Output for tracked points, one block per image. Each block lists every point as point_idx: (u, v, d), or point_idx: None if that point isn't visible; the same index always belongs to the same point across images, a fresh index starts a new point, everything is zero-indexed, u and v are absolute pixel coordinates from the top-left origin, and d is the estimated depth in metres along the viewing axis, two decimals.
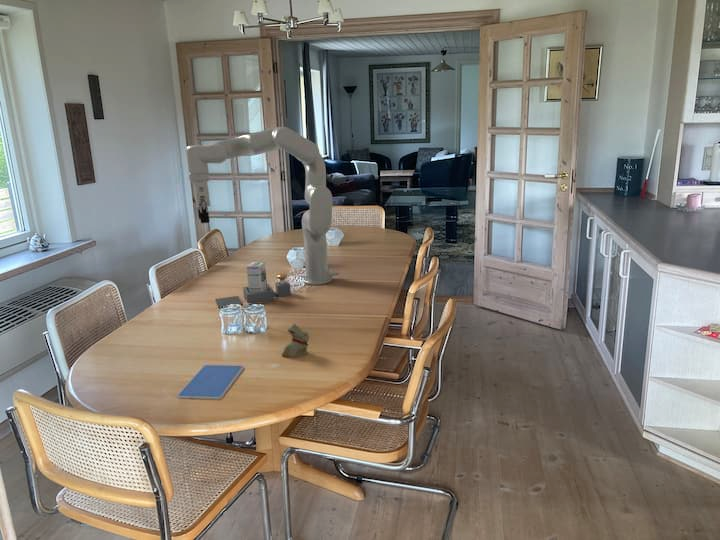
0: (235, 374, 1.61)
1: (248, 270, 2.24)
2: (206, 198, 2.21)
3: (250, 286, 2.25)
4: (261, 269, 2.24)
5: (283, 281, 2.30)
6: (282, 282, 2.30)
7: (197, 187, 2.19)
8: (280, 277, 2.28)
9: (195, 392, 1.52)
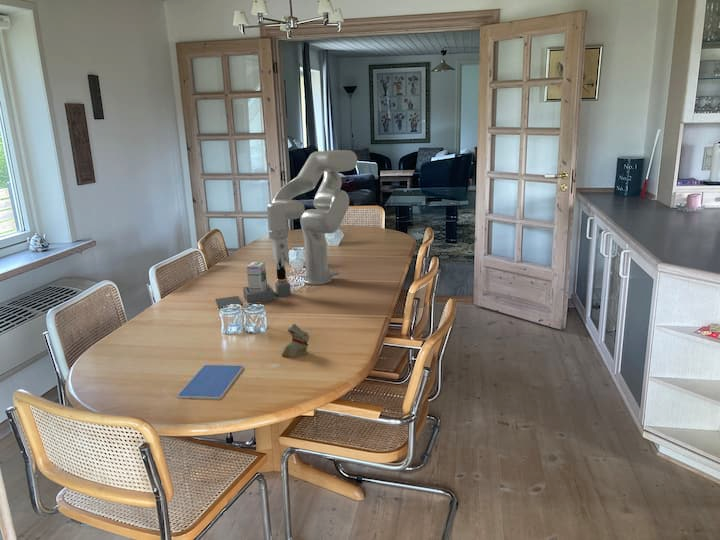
0: (235, 374, 1.61)
1: (248, 270, 2.24)
2: (286, 255, 2.23)
3: (250, 286, 2.25)
4: (261, 269, 2.24)
5: None
6: None
7: (277, 244, 2.22)
8: (280, 280, 2.29)
9: (195, 392, 1.52)
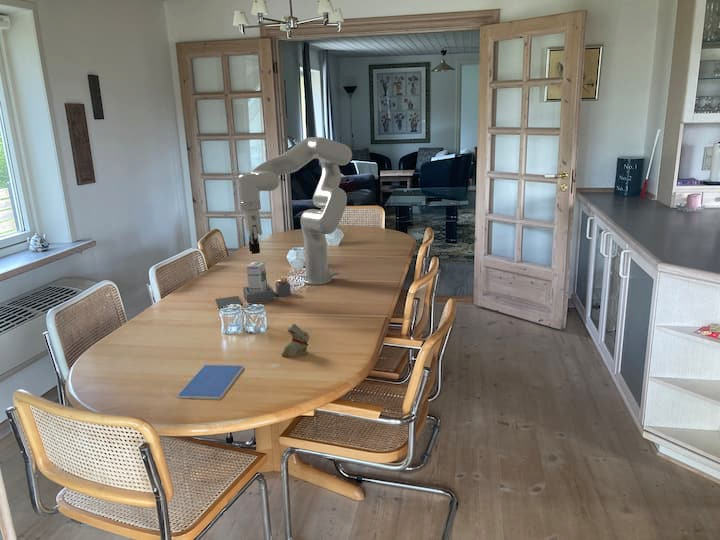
0: (235, 374, 1.61)
1: (248, 270, 2.24)
2: (258, 227, 2.17)
3: (250, 286, 2.25)
4: (261, 269, 2.24)
5: None
6: None
7: (249, 216, 2.16)
8: (280, 281, 2.29)
9: (195, 392, 1.52)
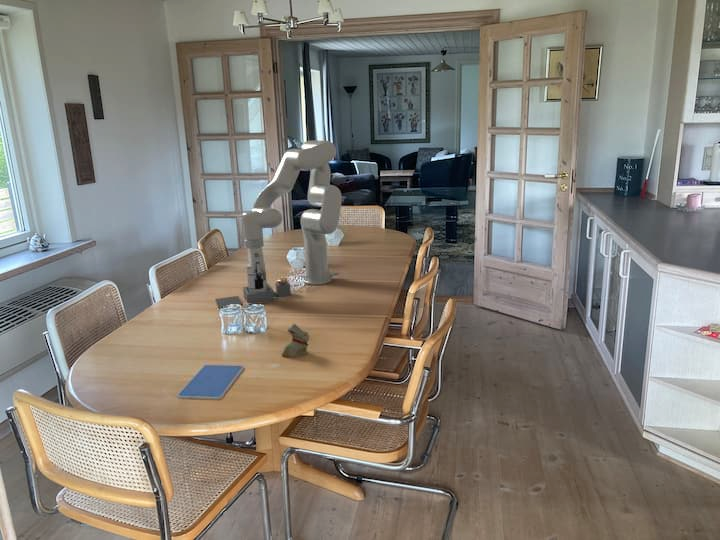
0: (235, 374, 1.61)
1: (248, 270, 2.24)
2: (261, 264, 2.21)
3: (250, 286, 2.25)
4: None
5: None
6: None
7: (252, 253, 2.19)
8: (280, 281, 2.29)
9: (195, 392, 1.52)
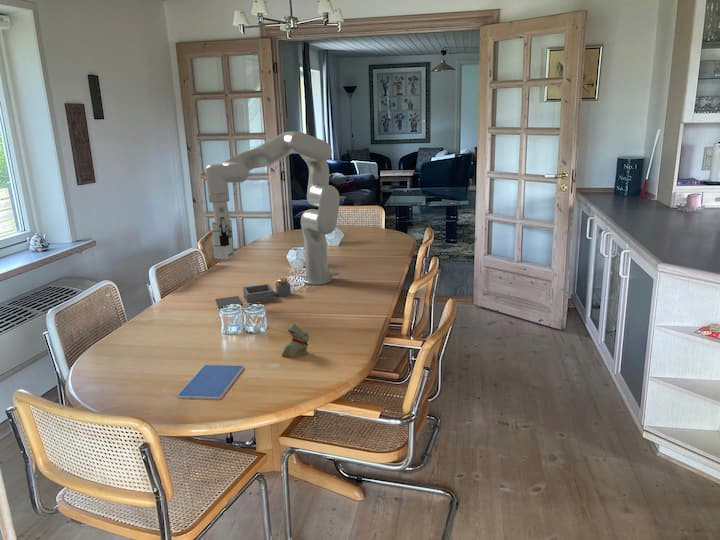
0: (235, 374, 1.61)
1: (213, 226, 2.15)
2: (226, 219, 2.12)
3: (215, 243, 2.17)
4: None
5: None
6: None
7: (217, 208, 2.11)
8: (280, 281, 2.29)
9: (195, 392, 1.52)
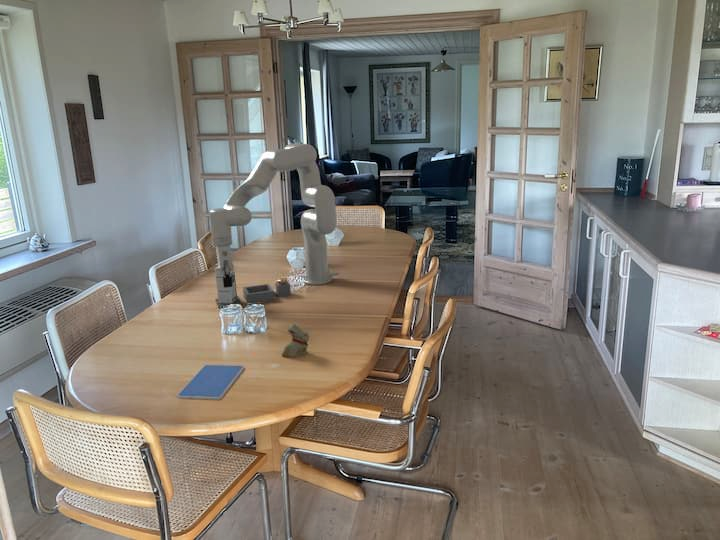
0: (235, 374, 1.61)
1: (216, 272, 2.20)
2: (229, 262, 2.17)
3: (219, 288, 2.22)
4: (230, 271, 2.20)
5: None
6: None
7: (220, 252, 2.15)
8: (280, 281, 2.29)
9: (195, 392, 1.52)
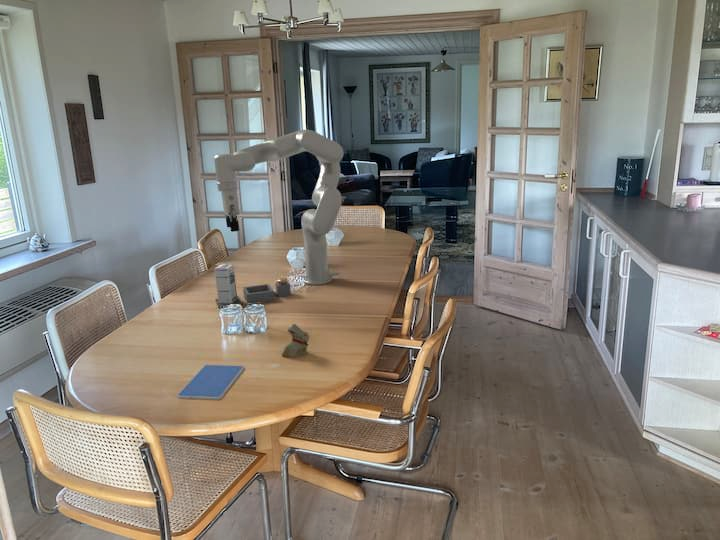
0: (235, 374, 1.61)
1: (216, 272, 2.20)
2: (235, 206, 2.21)
3: (218, 289, 2.22)
4: (229, 271, 2.20)
5: None
6: None
7: (226, 196, 2.20)
8: (280, 281, 2.29)
9: (195, 392, 1.52)
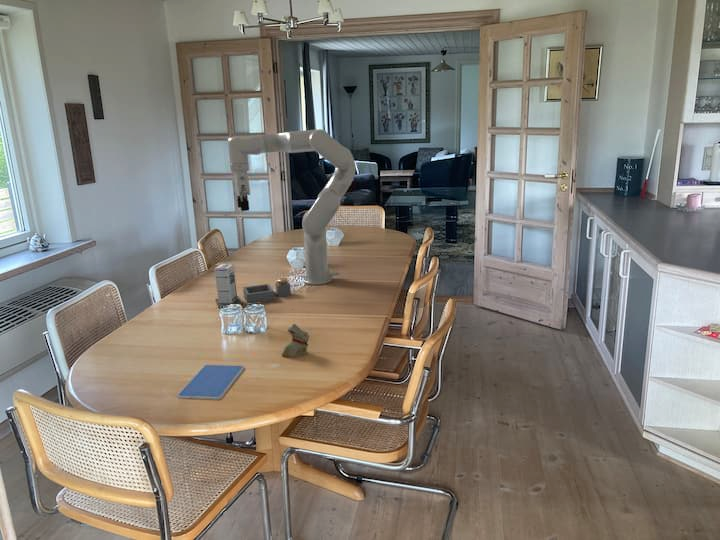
0: (235, 374, 1.61)
1: (216, 272, 2.20)
2: (246, 187, 2.33)
3: (218, 289, 2.22)
4: (229, 271, 2.20)
5: None
6: None
7: (238, 176, 2.31)
8: (280, 281, 2.29)
9: (195, 392, 1.52)
